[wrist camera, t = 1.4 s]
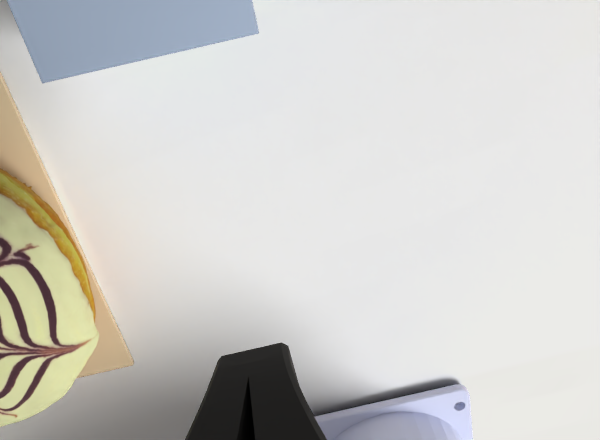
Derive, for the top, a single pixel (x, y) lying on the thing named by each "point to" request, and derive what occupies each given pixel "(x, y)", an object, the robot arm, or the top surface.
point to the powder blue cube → (123, 30)
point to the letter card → (29, 169)
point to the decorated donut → (39, 304)
